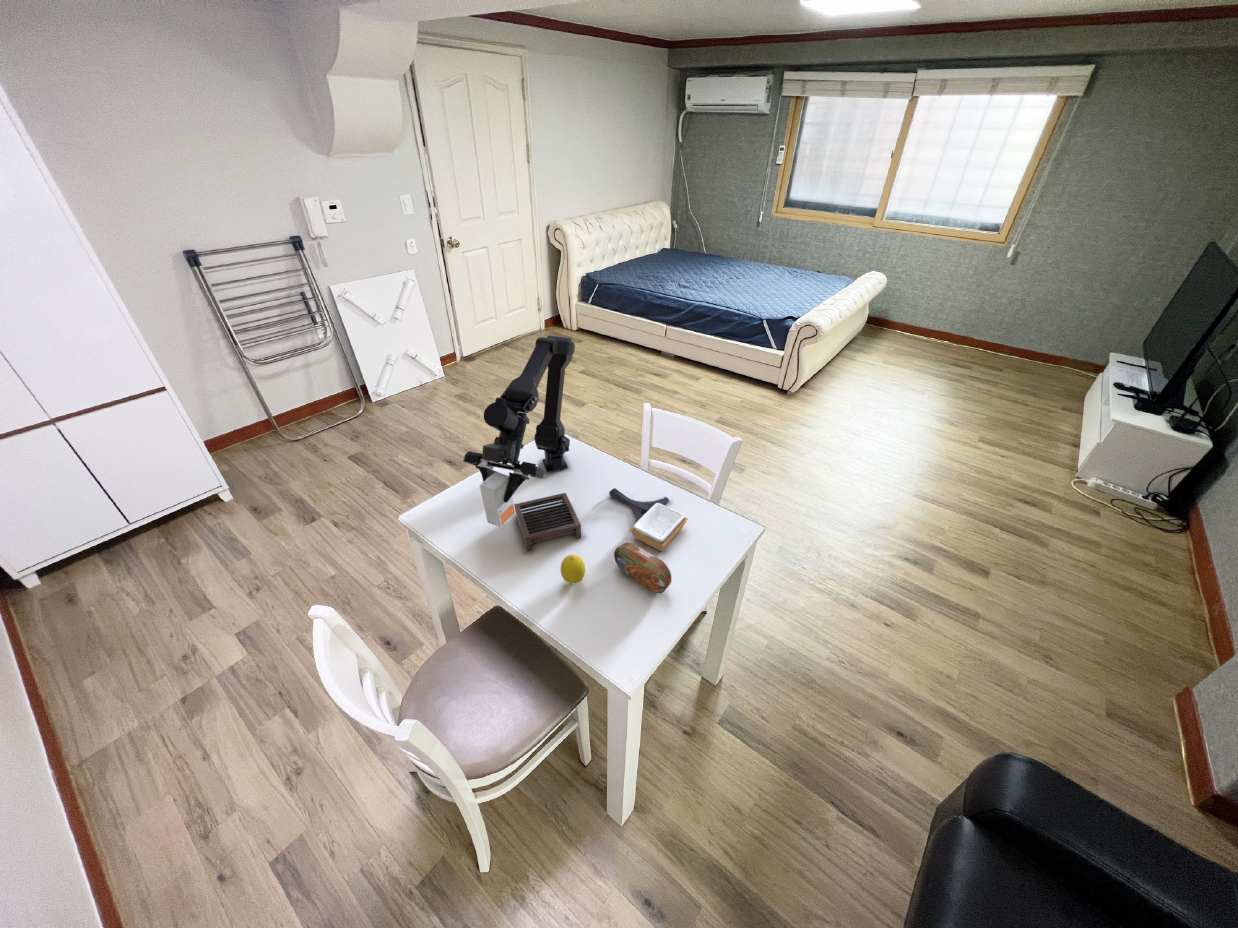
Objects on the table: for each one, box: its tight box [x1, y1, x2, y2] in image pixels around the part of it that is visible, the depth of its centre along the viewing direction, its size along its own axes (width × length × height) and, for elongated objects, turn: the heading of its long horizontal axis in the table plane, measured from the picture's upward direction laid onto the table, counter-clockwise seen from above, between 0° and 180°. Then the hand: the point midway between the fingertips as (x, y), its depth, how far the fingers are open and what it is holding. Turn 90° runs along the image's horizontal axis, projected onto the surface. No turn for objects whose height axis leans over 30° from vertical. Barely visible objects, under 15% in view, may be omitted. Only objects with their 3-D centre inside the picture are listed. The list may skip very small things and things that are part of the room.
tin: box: [613, 541, 672, 594], centre depth 111 cm, size 15×3×8 cm, turn 49°
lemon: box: [560, 554, 586, 585], centre depth 111 cm, size 6×6×8 cm
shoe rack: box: [514, 492, 582, 552], centre depth 126 cm, size 14×14×4 cm
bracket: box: [608, 487, 669, 524], centre depth 134 cm, size 14×15×3 cm
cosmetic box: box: [479, 470, 516, 529], centre depth 117 cm, size 6×4×12 cm
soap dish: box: [629, 503, 689, 553], centre depth 124 cm, size 12×10×5 cm
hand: (495, 500), depth 116 cm, fingers closed on cosmetic box, 4 cm apart
